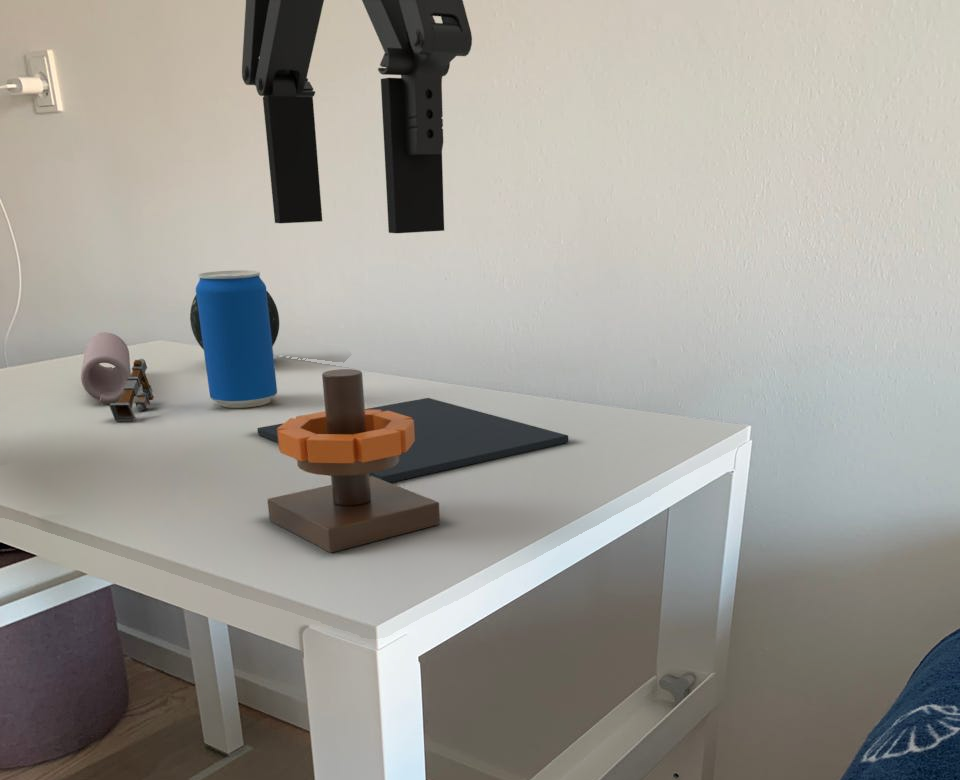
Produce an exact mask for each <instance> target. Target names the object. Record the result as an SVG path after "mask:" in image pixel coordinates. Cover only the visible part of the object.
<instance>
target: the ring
mask: <svg viewBox="0 0 960 780" xmlns="http://www.w3.org/2000/svg"><path fill="white" fill-rule="evenodd" d="M365 420H366V432H363V433H358V434H327V425H326V413H325V411H319V412H313V413H307V414H302V415H297V416H295V417H291V418H289V419H288V420H286V421H285V422H283V423H284V424H282V423H281V424H282V425H281V426H280V427H278V428H277V434H278V442H277V443H278V450H279V453H280V454H282V455H285V456H288V457H290V458H292V459H294V460H296V461H297V460H299V461H307V460H308V461H309V463H354V462H355V461H356V460H357V461H360V462H363V463H364V462H368V461H373V460H378V459H383V458H387V457H392V456H397V455H401V452H407V451H408V449H409V448H410V447H411V445H412V444H413V443H414V441H415V433H414V420H413V419H412V418H411V417H408V416H405V415H401V414H398V413H395V412H391V411H383V412H382V410H365Z"/></svg>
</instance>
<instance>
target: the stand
mask: <svg viewBox="0 0 960 780" xmlns="http://www.w3.org/2000/svg"><path fill="white" fill-rule="evenodd" d="M321 376H322V377H321V378H322V389H323V402H324V412H325V413H326V425H327V434H358V433H363V432H366V420H365V409H366V407H365V393H364V380H363V372H362V371H361V370H359V369H353V368H340V369H339V368H338V369H331V370H326V371H324V372H322V374H321ZM399 461H400V455H397V456H392V457H387V458H383V459H378V460H373V461H368V462H364V463H363V462H360V461H357V460H356V461H355V462H354V463H309V461H308V460H307V461H299V460H297V459H296V464H297V467H298V468H299V469H300V470H301V471H303V472H306V473H309V474H313V475H318V476H319V475H320V476H330V481H331V484H328V485H324V486H320V487H315V488H311V489H306V490H301V491H298V492H293V493H288V494H283V495H279V496H274V497H269V498H267V509H268V517H269V521H270V522H271V523H273V524H276V525H277V526H279V527H281V528H283V529H285V530H287V531H289V532H290V533H293V534H295V535H297V536H298V537H300V538H301V539H304V540H306V541H308V542H309V543H311V544H314V545H315V546H318V547H319V548H321V549H323V550H325V551H327V552H328V553H330V554H331V553H335V552H339V551H343V550H347V549H351V548H354V547H358V546H361V545H362V546H363V545H366V544H370V543H373V542H377V541H382V540H385V539H388V538H392V537H397V536H400V535H404V534H408V533H412V532H415V531H419V530H423V529H428V528H431V527H435V526H439V525H440V524H441V519H440V515H441V514H440V502H439V501H436V500H434V499H431V498H429V497H426V496H424V495H421V494H419V493H416V492H414V491H411V490H408V489H406V488H403V487H401V486H399V485H396V484H393V483H392V482H391V483H389V482H386V481H384V480H381V479H378V478H376V477H373V476H369V473H374V472H379V471H383V470H386V469H389V468H391V467H393V466H395V465H396V464H398V463H399Z"/></svg>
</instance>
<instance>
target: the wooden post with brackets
mask: <svg viewBox="0 0 960 780" xmlns="http://www.w3.org/2000/svg"><path fill="white" fill-rule="evenodd" d="M147 369H148V366H147V362H146V360H145V359H144V358H139V359H134V361H133V365H132V367H131V370H132V372H131V376H130V377H128V379H127V381H126V385H125V387H124V393H123V395H122V397H121V398H120V400H119V401H118V402H116V403H111V404H108V405H109V408H110V411H111V414H112V416H113V418H114V421H115V422H135V419H136V417H135V413H134V412H133V403H134V405H135V407H136V410H137V411H139V412H142V411H147V410H148V405H151V401H153V400H154V398H155V396H154V393H153V388H152V385H150V383H149V379H148V377H147V374H146V371H147ZM140 388H141V390H142V393H140V394H139V391H140ZM135 398H136V400H135V401H134V399H135Z"/></svg>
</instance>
